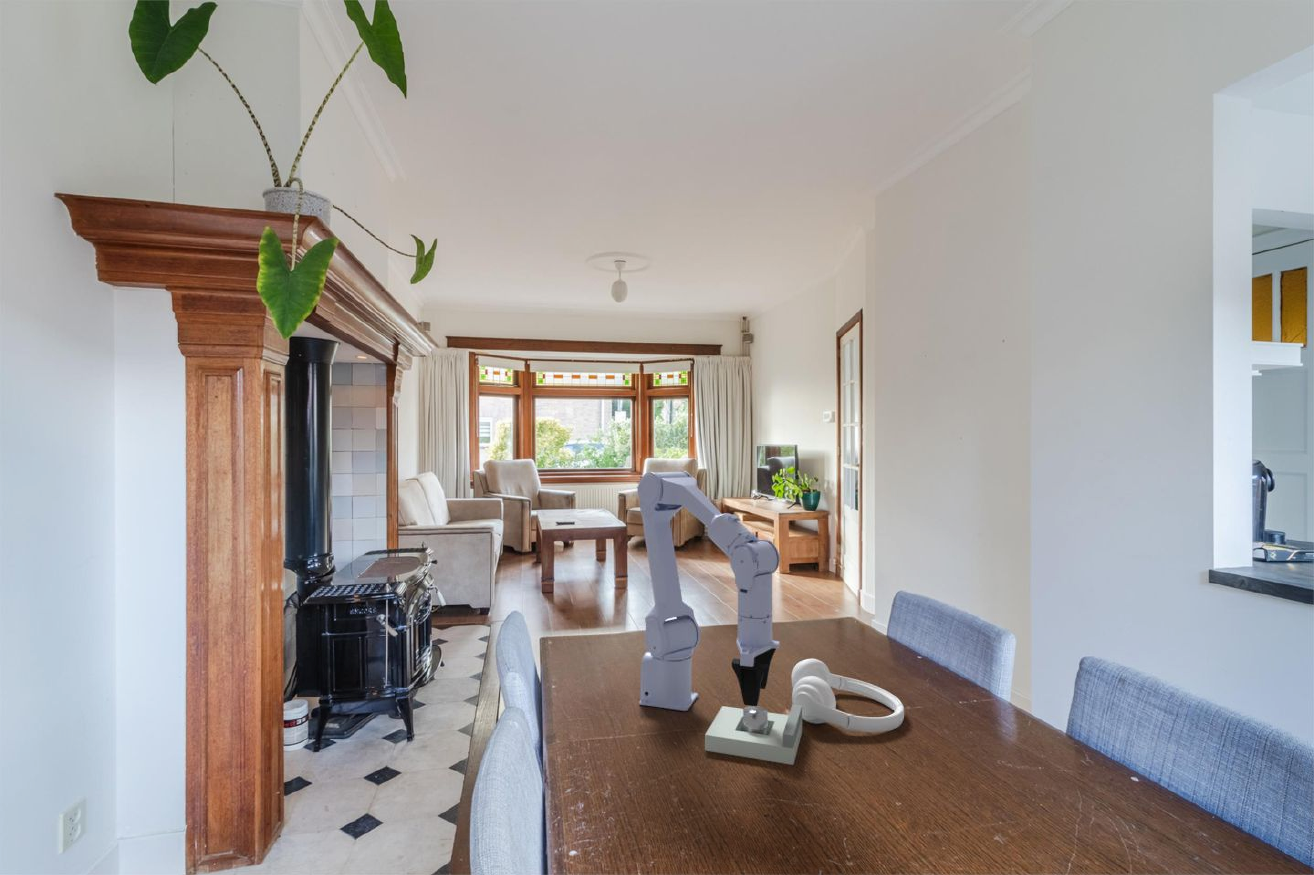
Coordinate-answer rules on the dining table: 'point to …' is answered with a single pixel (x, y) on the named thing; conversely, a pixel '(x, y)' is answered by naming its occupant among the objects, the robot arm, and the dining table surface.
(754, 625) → the robot arm
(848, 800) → the dining table surface
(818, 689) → the headphones
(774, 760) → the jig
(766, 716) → the peg
